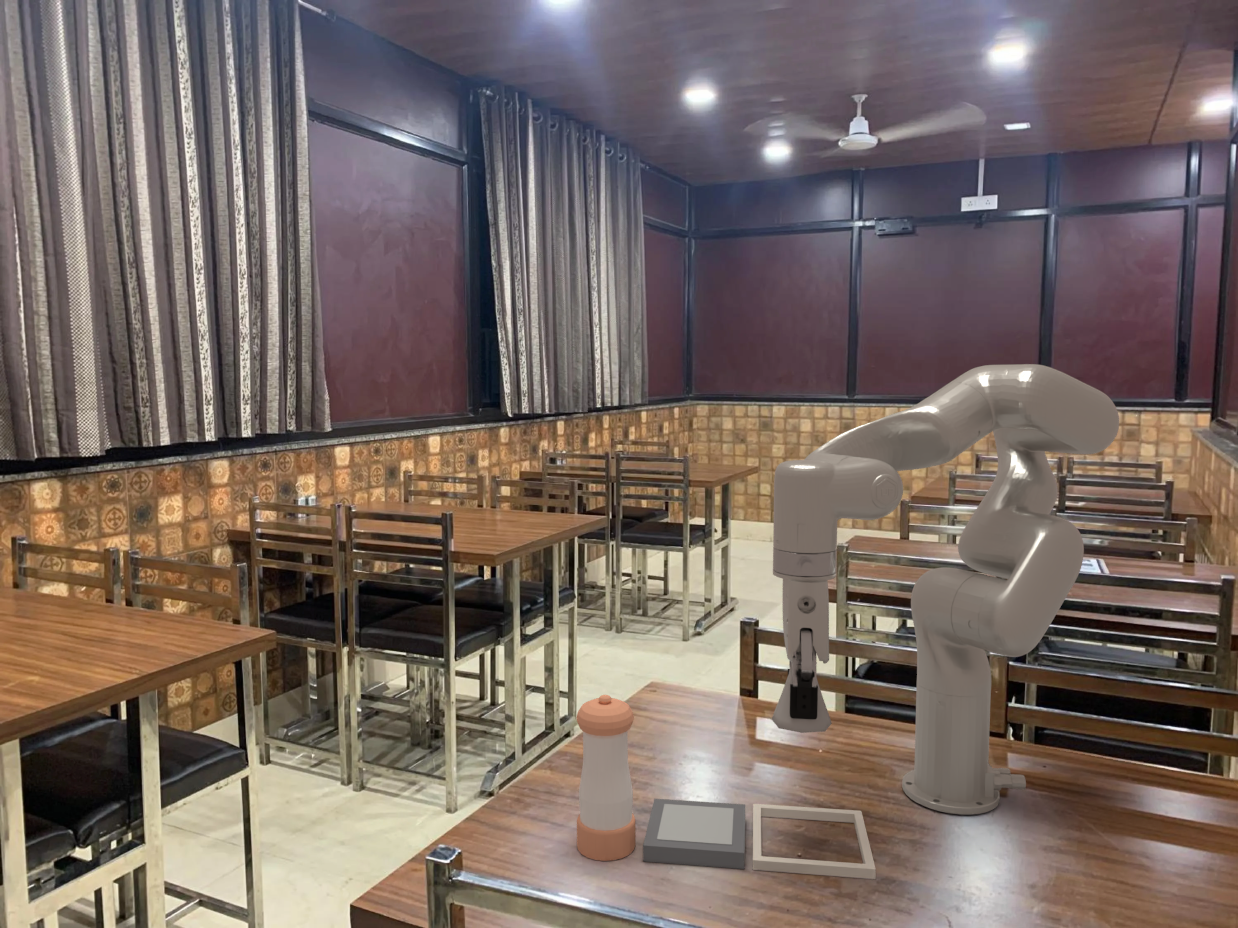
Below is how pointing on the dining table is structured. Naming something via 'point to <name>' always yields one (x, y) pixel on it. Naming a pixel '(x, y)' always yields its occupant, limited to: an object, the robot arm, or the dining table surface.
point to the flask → (800, 725)
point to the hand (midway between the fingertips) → (801, 707)
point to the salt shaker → (605, 781)
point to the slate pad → (696, 833)
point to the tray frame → (813, 866)
